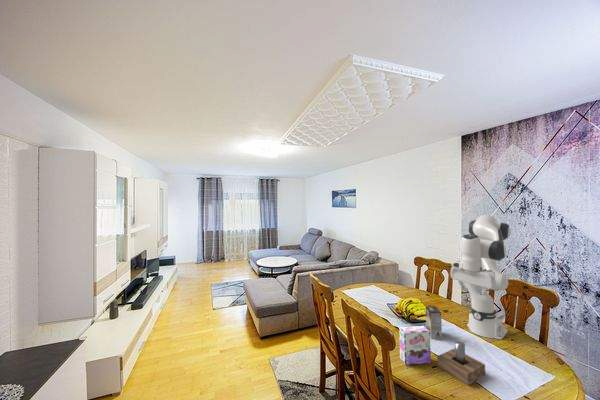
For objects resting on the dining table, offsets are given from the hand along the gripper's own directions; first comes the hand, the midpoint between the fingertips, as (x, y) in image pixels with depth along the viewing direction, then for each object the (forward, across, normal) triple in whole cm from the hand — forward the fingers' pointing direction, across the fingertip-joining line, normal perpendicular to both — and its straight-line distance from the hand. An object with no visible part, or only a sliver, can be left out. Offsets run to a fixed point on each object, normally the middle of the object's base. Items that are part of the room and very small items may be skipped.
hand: (472, 292), depth 123 cm
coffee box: (+34, +24, -2) cm, 42 cm away
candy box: (+34, +13, +29) cm, 47 cm away
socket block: (+34, -2, +16) cm, 38 cm away
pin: (+33, -2, +16) cm, 37 cm away
